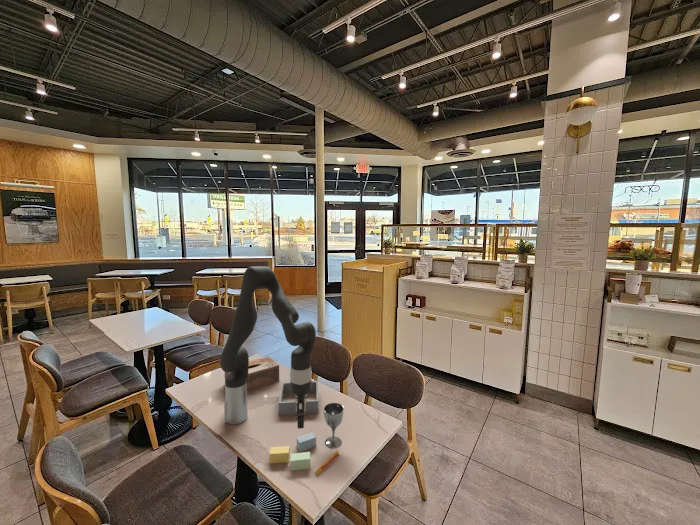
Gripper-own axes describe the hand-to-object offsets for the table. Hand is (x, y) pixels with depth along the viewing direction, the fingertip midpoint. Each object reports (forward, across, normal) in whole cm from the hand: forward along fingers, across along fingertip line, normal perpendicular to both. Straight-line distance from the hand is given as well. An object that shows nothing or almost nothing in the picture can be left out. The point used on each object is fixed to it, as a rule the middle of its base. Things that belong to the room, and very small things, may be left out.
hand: (301, 420), depth 110 cm
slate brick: (+18, -10, +2) cm, 21 cm away
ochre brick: (+18, -4, -8) cm, 20 cm away
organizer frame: (+18, -41, -2) cm, 45 cm away
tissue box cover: (+18, -63, -29) cm, 72 cm away
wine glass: (+18, -11, +13) cm, 25 cm away
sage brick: (+18, 0, 0) cm, 18 cm away
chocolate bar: (+19, 0, +10) cm, 21 cm away
